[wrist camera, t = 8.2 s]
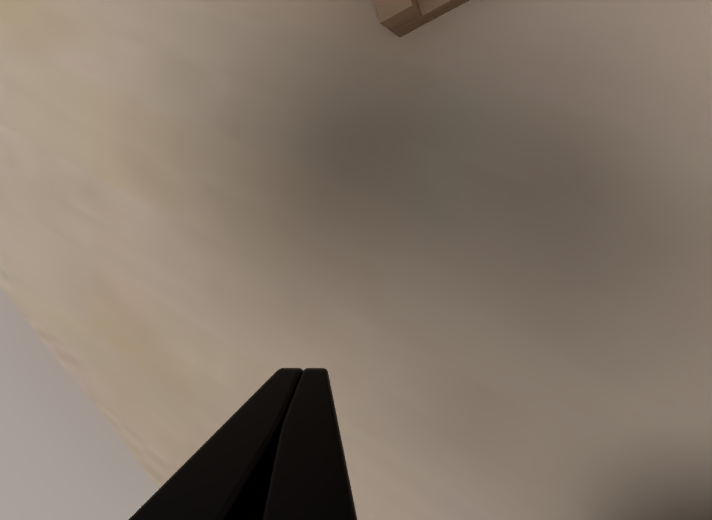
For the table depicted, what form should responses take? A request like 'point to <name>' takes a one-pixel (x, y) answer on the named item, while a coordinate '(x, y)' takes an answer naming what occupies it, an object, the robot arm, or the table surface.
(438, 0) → the bay
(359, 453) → the table surface
